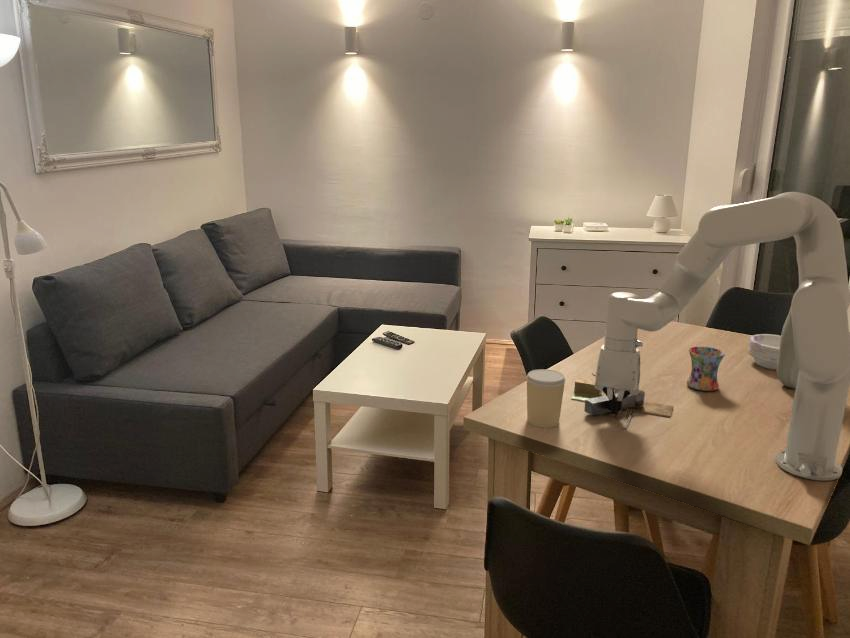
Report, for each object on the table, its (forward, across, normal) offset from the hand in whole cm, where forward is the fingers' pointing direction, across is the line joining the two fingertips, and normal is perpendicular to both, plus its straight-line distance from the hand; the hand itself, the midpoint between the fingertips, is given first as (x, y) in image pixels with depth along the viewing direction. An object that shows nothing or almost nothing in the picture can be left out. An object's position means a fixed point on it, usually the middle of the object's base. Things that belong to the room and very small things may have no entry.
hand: (614, 413), depth 174 cm
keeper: (+1, +6, -11) cm, 13 cm away
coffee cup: (+1, +16, +10) cm, 18 cm away
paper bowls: (+2, -36, -63) cm, 73 cm away
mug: (+2, -18, -34) cm, 39 cm away
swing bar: (0, +1, -5) cm, 5 cm away
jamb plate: (+1, -7, -4) cm, 8 cm away
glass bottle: (+2, -41, -45) cm, 61 cm away
